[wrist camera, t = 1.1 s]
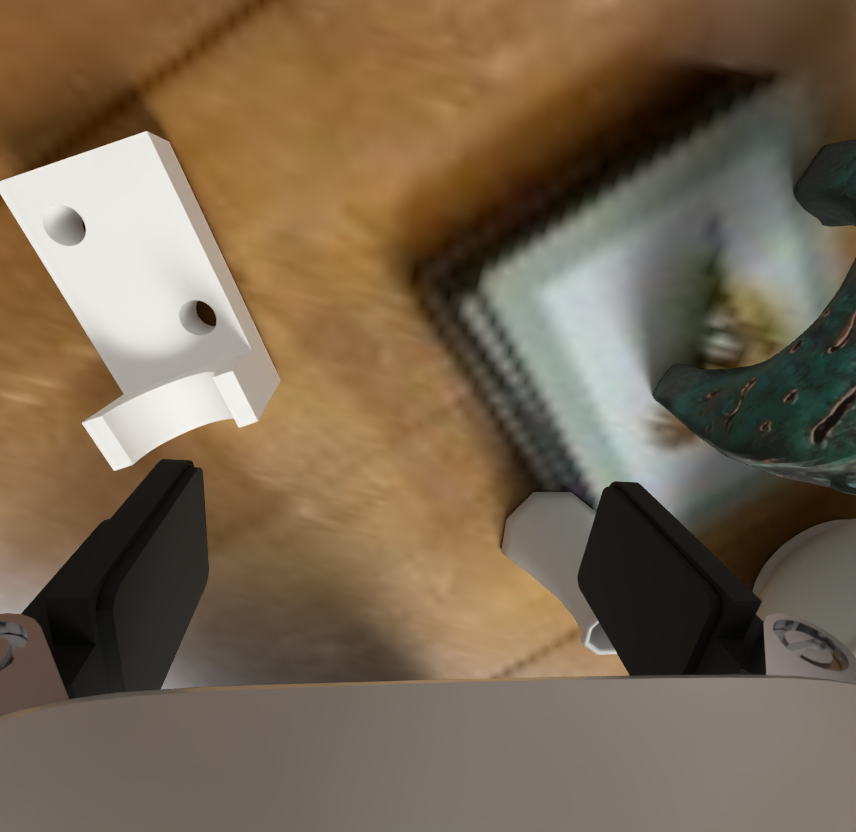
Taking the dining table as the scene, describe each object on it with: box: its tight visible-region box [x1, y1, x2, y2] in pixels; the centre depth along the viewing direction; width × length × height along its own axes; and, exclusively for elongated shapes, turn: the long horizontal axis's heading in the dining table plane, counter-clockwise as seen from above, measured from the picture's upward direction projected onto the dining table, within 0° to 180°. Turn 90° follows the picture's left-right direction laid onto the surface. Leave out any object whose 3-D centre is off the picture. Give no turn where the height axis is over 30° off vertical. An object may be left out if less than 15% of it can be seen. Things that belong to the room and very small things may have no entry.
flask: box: [501, 492, 617, 655], centre depth 31 cm, size 7×7×10 cm
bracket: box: [0, 131, 281, 471], centre depth 23 cm, size 13×7×8 cm, turn 18°
